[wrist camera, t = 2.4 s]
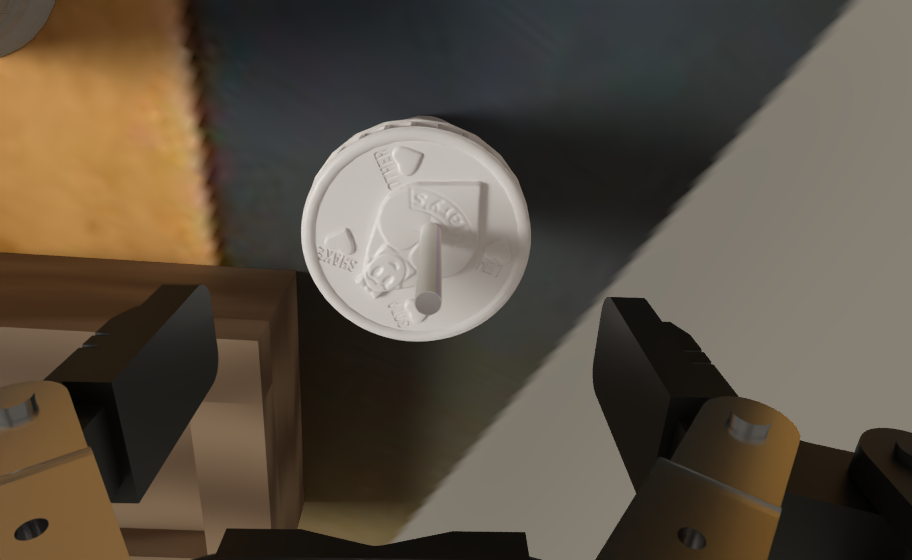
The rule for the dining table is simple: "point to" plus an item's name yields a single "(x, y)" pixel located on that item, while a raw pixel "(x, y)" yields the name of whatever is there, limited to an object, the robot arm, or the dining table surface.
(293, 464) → the walnut tray
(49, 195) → the dining table surface
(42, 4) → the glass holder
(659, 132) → the dining table surface
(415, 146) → the smoothie
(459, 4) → the dining table surface
